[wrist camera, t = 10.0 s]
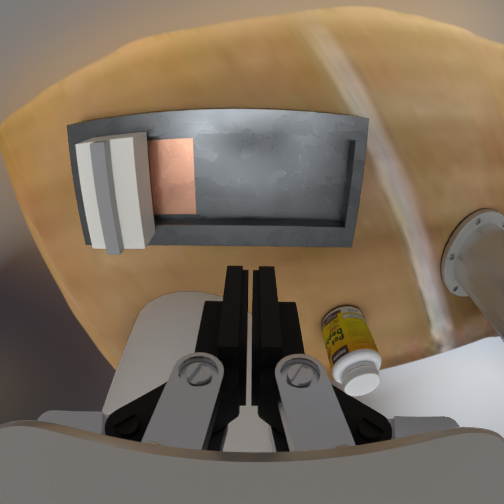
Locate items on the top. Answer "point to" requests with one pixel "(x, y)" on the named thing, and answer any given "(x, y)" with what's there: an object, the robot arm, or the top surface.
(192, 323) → the cylinder
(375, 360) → the supplement bottle
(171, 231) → the dark grey tray
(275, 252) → the top surface
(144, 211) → the slider knob
